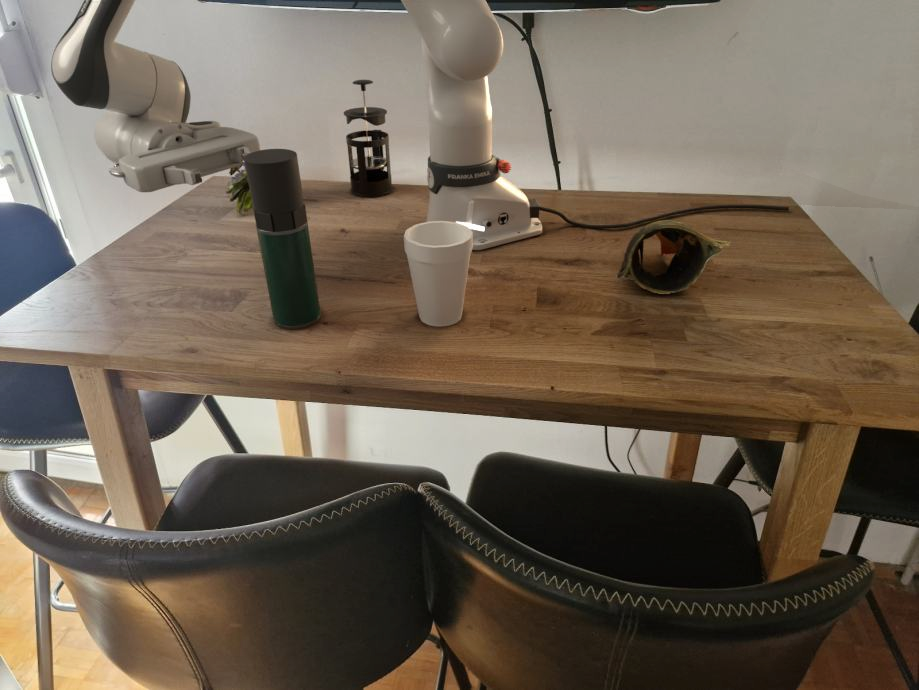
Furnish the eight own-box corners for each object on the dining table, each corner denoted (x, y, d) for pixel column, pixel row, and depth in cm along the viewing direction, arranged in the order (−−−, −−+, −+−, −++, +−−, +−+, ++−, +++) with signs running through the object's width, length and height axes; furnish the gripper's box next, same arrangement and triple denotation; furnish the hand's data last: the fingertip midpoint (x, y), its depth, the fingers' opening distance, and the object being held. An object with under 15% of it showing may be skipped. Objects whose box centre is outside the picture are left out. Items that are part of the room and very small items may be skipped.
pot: (691, 200, 110) (726, 203, 93) (707, 262, 113) (744, 277, 95) (593, 232, 113) (609, 241, 95) (610, 293, 115) (629, 313, 98)
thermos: (316, 303, 99) (301, 196, 90) (324, 324, 94) (308, 213, 85) (271, 311, 97) (250, 203, 88) (276, 333, 92) (255, 220, 83)
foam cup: (449, 338, 90) (447, 253, 83) (396, 321, 94) (390, 238, 87) (483, 310, 97) (484, 228, 90) (432, 295, 101) (429, 216, 94)
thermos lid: (302, 210, 91) (293, 146, 86) (309, 227, 86) (300, 159, 81) (254, 217, 89) (241, 151, 84) (258, 234, 84) (246, 165, 79)
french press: (383, 200, 138) (375, 86, 126) (342, 197, 140) (330, 84, 128) (401, 182, 147) (394, 75, 135) (362, 180, 149) (353, 74, 137)
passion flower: (248, 227, 140) (246, 173, 141) (293, 221, 137) (291, 166, 138) (215, 214, 129) (214, 155, 130) (263, 207, 126) (261, 147, 127)
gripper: (95, 147, 88) (151, 165, 81) (222, 118, 102) (279, 131, 95) (109, 192, 92) (164, 212, 85) (230, 158, 106) (286, 173, 98)
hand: (226, 169), depth 90 cm, fingers open, 8 cm apart
